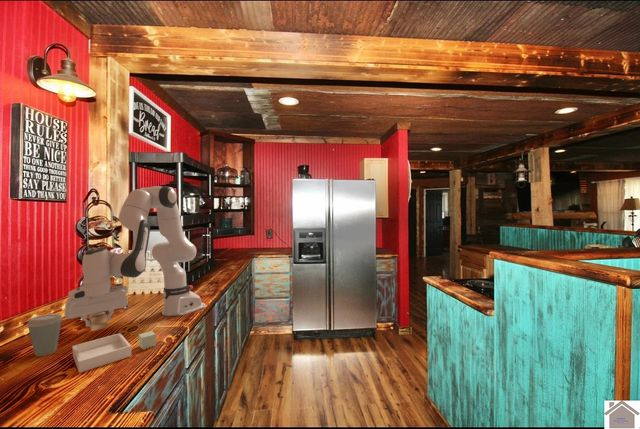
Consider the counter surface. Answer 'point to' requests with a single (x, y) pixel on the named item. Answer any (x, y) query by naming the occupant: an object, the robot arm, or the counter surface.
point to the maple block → (98, 321)
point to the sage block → (147, 339)
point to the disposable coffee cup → (45, 333)
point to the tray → (100, 352)
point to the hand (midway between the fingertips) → (98, 323)
